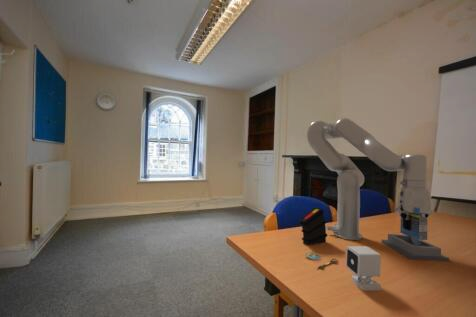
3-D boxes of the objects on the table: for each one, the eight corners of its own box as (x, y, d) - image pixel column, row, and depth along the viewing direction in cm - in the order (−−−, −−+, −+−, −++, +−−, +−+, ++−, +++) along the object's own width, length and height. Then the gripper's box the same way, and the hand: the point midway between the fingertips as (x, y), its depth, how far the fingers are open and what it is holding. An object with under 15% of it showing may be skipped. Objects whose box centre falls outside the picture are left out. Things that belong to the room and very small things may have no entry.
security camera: (345, 279, 66) (346, 245, 66) (367, 278, 67) (368, 245, 67) (358, 291, 60) (359, 254, 60) (382, 291, 60) (383, 254, 60)
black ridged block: (331, 237, 97) (322, 208, 94) (312, 255, 92) (301, 224, 89) (324, 234, 101) (315, 206, 98) (305, 251, 95) (295, 221, 92)
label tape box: (427, 240, 85) (429, 208, 86) (418, 240, 85) (419, 208, 85) (407, 232, 94) (409, 204, 94) (399, 232, 94) (400, 203, 94)
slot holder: (409, 259, 82) (410, 247, 82) (381, 242, 99) (381, 232, 99) (448, 261, 81) (449, 249, 81) (413, 243, 98) (414, 234, 98)
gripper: (399, 184, 87) (398, 231, 86) (443, 186, 86) (442, 233, 86) (387, 182, 94) (386, 226, 94) (427, 184, 93) (426, 227, 93)
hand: (413, 229), depth 90 cm, fingers closed on label tape box, 4 cm apart
